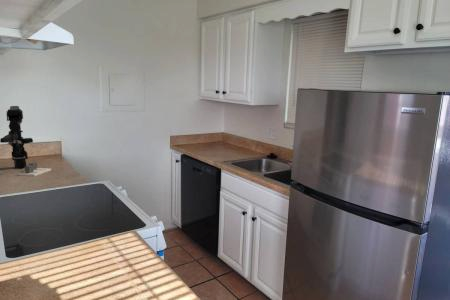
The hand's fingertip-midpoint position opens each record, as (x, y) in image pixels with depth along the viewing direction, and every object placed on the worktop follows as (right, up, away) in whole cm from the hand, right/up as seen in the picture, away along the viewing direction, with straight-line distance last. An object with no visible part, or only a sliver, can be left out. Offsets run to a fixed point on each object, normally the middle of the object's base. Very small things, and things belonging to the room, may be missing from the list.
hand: (17, 153), depth 211 cm
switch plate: (+8, -12, +5) cm, 16 cm away
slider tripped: (+7, -12, +1) cm, 14 cm away
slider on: (+4, -10, +9) cm, 15 cm away
